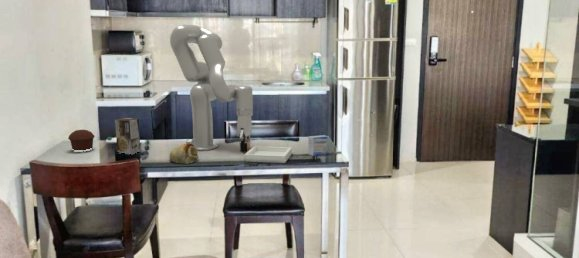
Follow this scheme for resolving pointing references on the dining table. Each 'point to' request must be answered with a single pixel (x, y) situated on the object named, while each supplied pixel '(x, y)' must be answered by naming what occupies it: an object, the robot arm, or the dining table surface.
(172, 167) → the dining table surface
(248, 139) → the shaker
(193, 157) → the pastry
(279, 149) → the tray
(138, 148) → the coffee box
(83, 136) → the muffin
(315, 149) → the medicine box
